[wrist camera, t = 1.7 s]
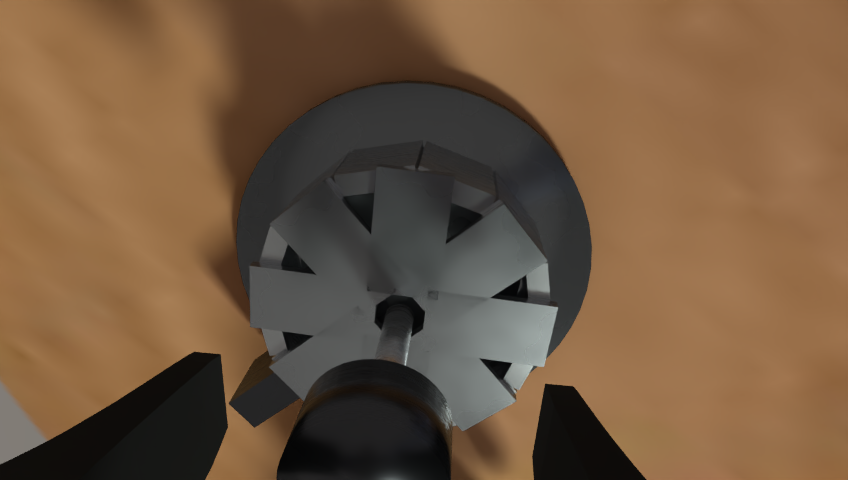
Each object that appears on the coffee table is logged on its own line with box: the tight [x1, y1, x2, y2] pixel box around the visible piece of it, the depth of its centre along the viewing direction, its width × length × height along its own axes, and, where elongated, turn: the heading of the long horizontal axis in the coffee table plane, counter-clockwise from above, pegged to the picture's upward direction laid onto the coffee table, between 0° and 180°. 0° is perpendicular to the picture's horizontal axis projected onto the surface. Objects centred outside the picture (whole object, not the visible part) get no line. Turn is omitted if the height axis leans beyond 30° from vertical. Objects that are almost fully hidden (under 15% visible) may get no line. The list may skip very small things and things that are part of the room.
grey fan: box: [229, 81, 592, 431], centre depth 18 cm, size 13×12×4 cm
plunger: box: [277, 303, 453, 480], centre depth 13 cm, size 3×3×6 cm
